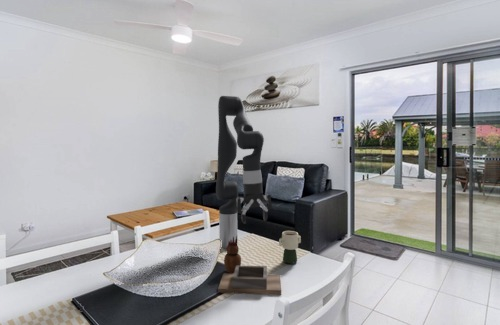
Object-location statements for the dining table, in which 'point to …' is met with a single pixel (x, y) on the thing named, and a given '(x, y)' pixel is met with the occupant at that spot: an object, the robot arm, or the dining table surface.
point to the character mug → (290, 246)
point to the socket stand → (250, 281)
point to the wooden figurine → (232, 256)
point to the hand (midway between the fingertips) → (254, 221)
